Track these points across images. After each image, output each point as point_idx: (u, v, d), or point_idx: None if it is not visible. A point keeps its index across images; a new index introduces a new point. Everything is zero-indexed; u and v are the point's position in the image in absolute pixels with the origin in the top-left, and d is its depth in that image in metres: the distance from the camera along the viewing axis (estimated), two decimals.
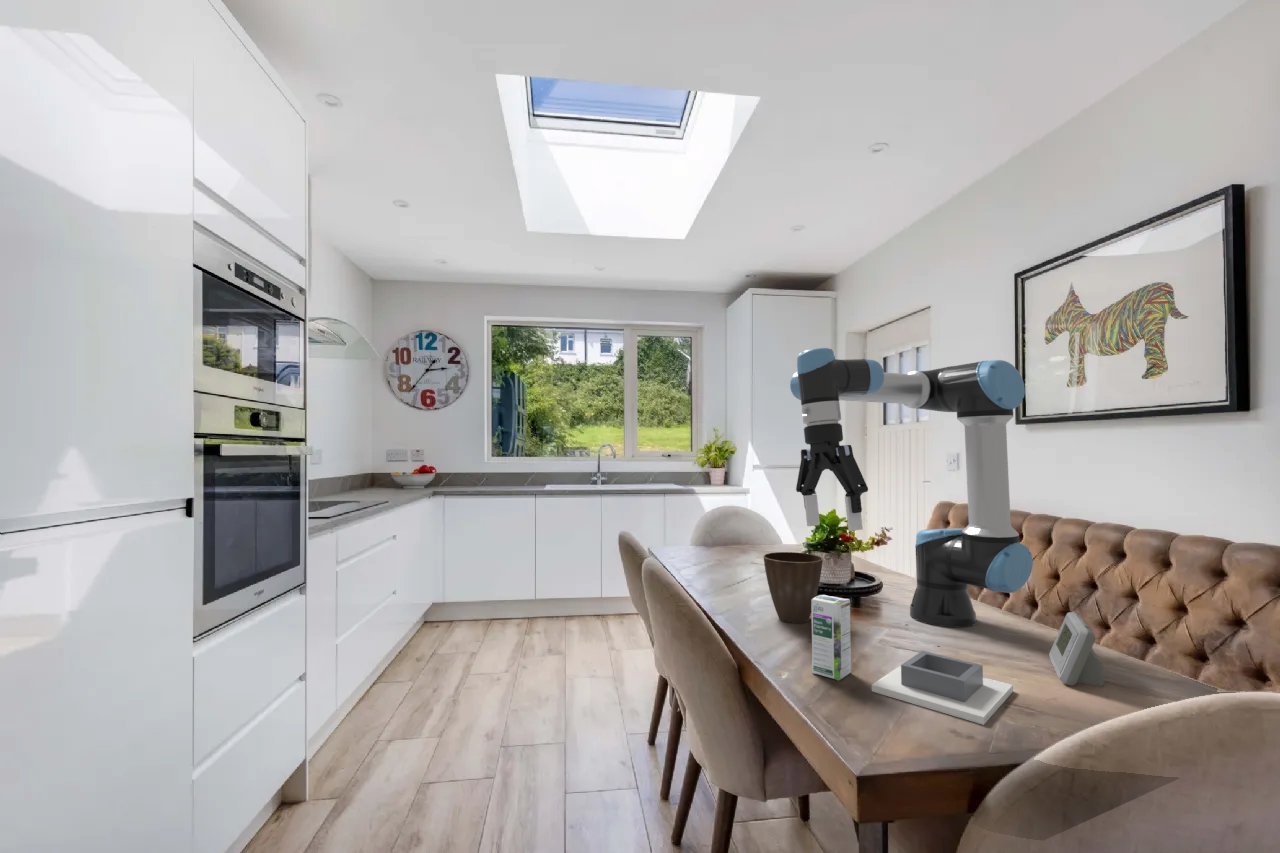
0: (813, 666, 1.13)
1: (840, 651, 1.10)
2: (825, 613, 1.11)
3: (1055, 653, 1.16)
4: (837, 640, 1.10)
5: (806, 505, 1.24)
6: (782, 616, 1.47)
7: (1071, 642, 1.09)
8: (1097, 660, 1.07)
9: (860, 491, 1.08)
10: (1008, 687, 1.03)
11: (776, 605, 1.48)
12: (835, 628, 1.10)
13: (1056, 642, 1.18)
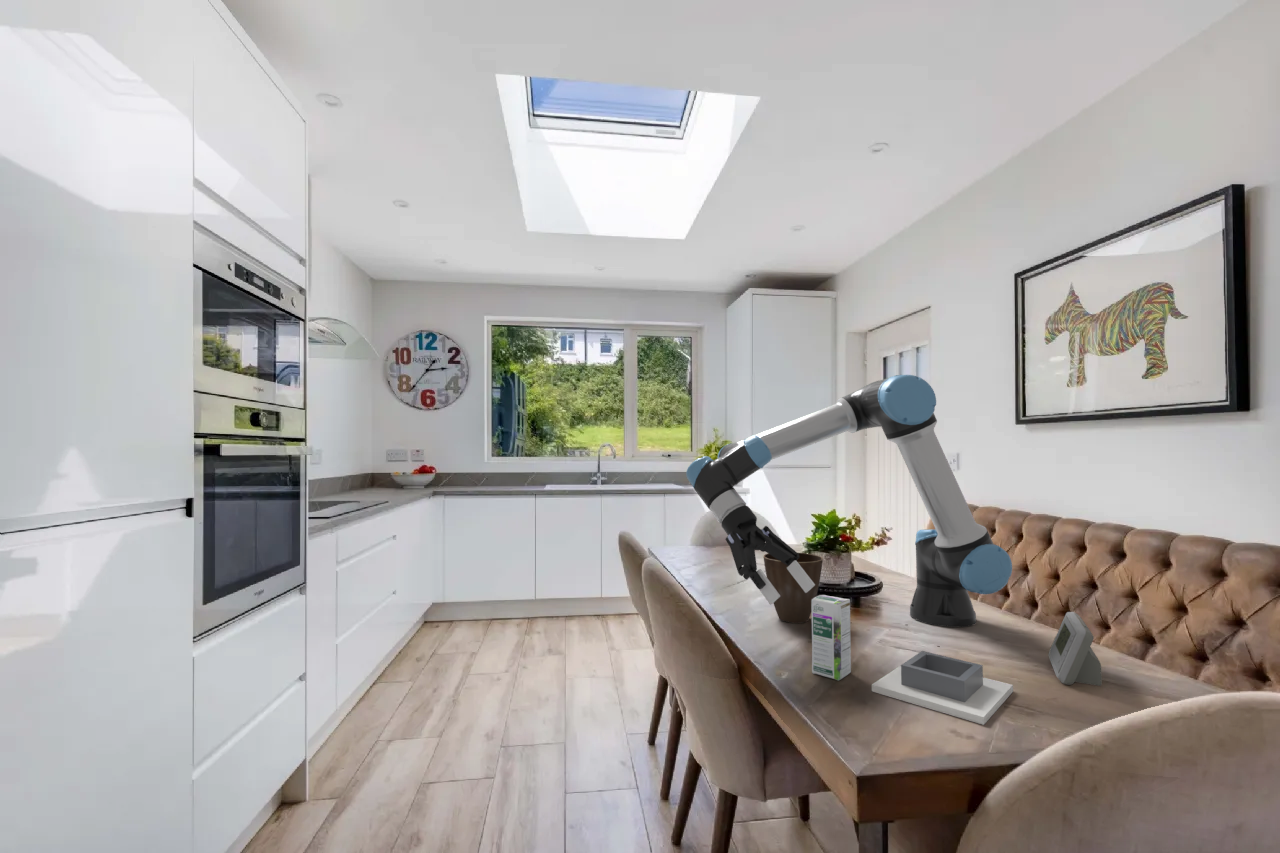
0: (813, 666, 1.13)
1: (840, 651, 1.10)
2: (825, 613, 1.11)
3: (1054, 653, 1.16)
4: (837, 640, 1.10)
5: None
6: (782, 616, 1.47)
7: (1069, 642, 1.09)
8: (1095, 660, 1.07)
9: (741, 573, 1.16)
10: (1008, 687, 1.03)
11: (776, 605, 1.48)
12: (835, 628, 1.10)
13: (1055, 642, 1.18)
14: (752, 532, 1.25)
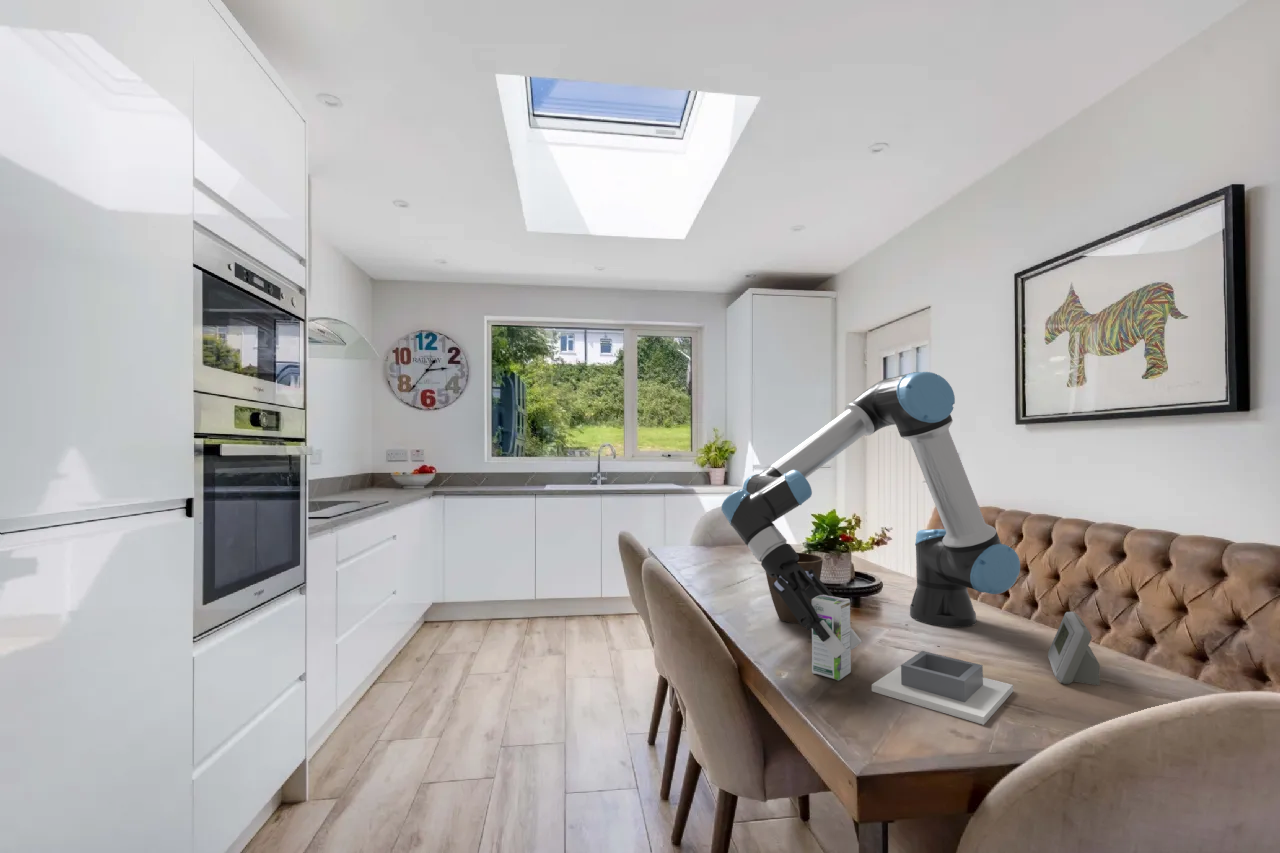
0: (813, 666, 1.13)
1: None
2: (825, 613, 1.11)
3: (1053, 652, 1.16)
4: None
5: None
6: (782, 616, 1.47)
7: (1067, 641, 1.09)
8: (1093, 659, 1.08)
9: (804, 624, 1.10)
10: (1008, 687, 1.03)
11: (776, 605, 1.48)
12: (834, 628, 1.10)
13: (1054, 641, 1.18)
14: (795, 573, 1.18)
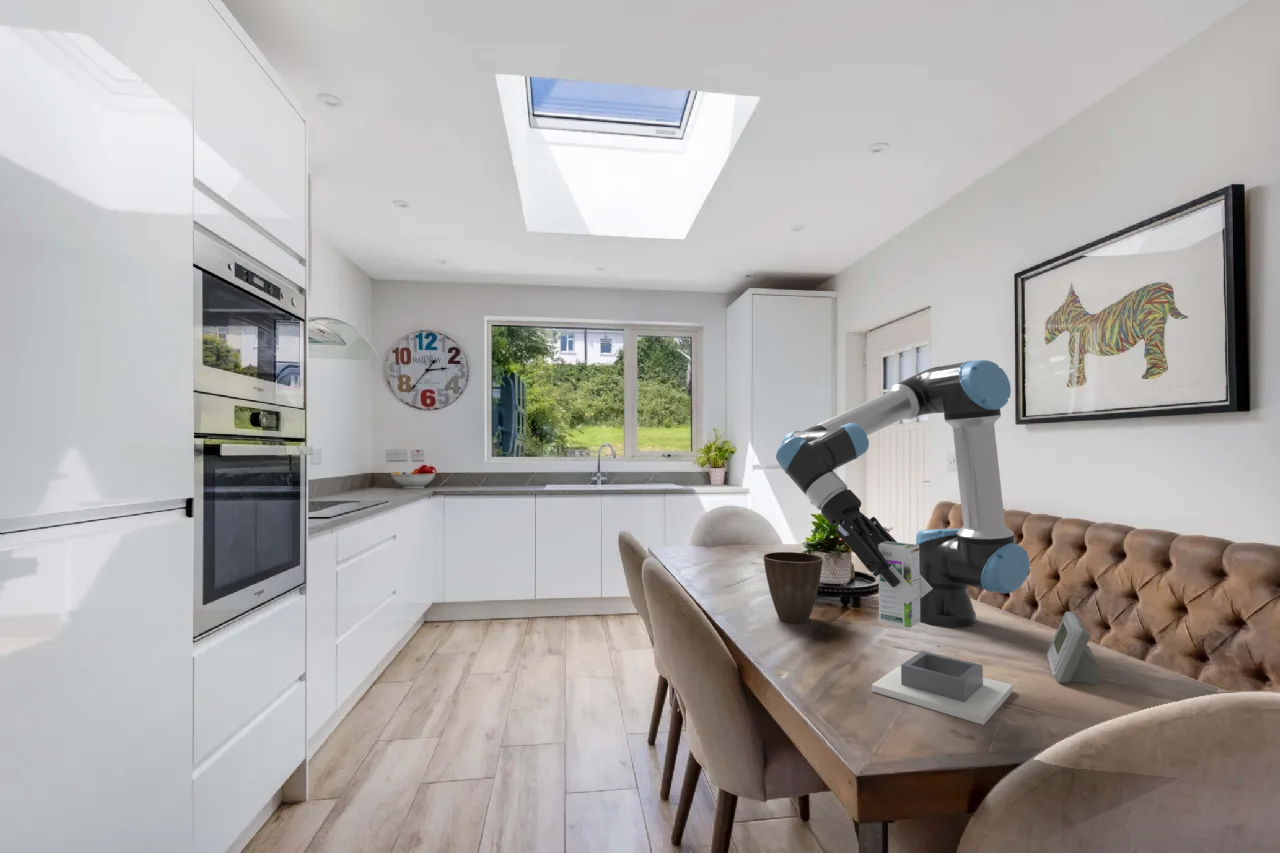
0: (880, 614, 1.07)
1: None
2: (894, 558, 1.05)
3: (1052, 652, 1.16)
4: None
5: None
6: (782, 616, 1.47)
7: (1066, 641, 1.09)
8: (1092, 659, 1.08)
9: (872, 569, 1.05)
10: (1008, 687, 1.03)
11: (776, 605, 1.48)
12: (905, 573, 1.04)
13: (1054, 641, 1.19)
14: (859, 518, 1.12)
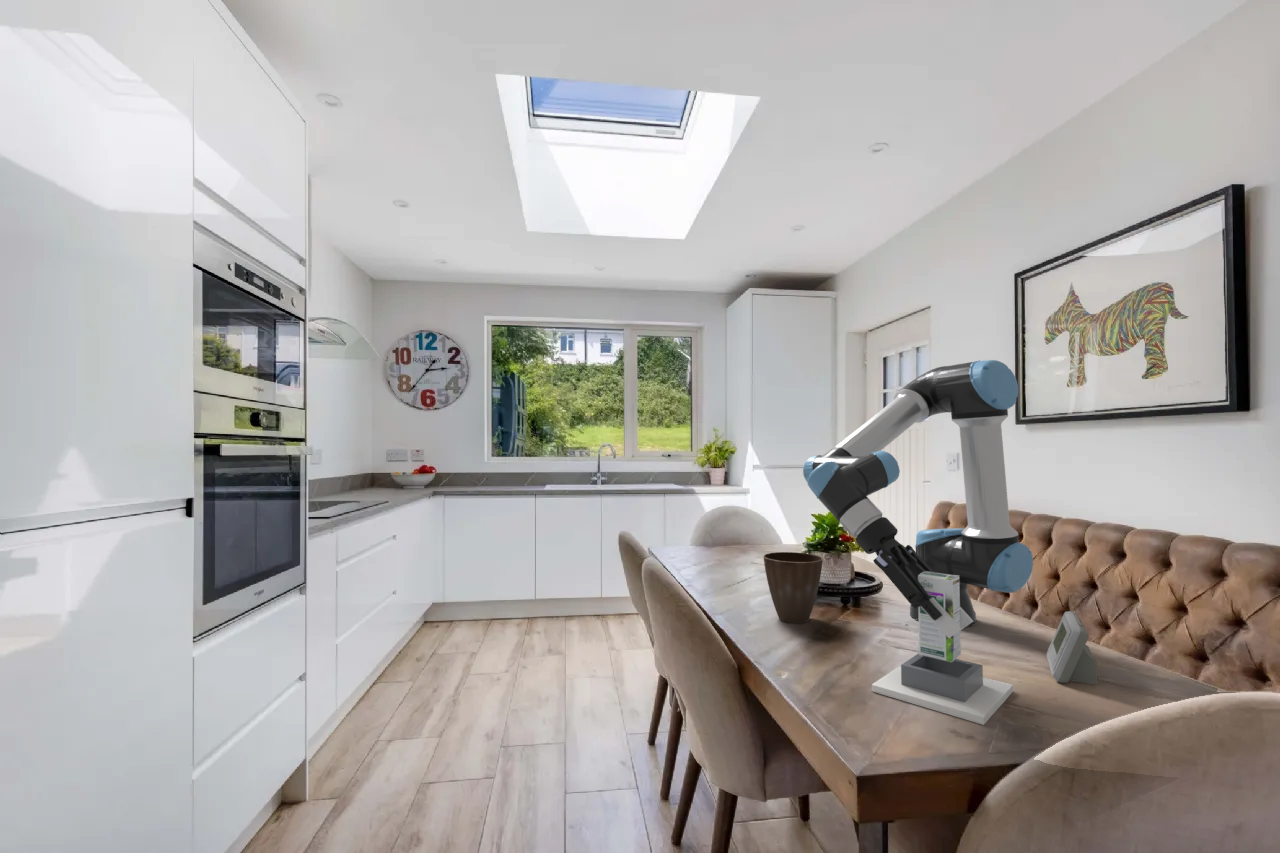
0: (920, 647, 1.04)
1: None
2: (935, 590, 1.03)
3: (1051, 651, 1.16)
4: None
5: None
6: (782, 616, 1.47)
7: (1065, 640, 1.10)
8: (1091, 658, 1.08)
9: (913, 602, 1.02)
10: (1008, 687, 1.03)
11: (776, 605, 1.48)
12: (947, 605, 1.01)
13: (1053, 641, 1.19)
14: (897, 548, 1.09)
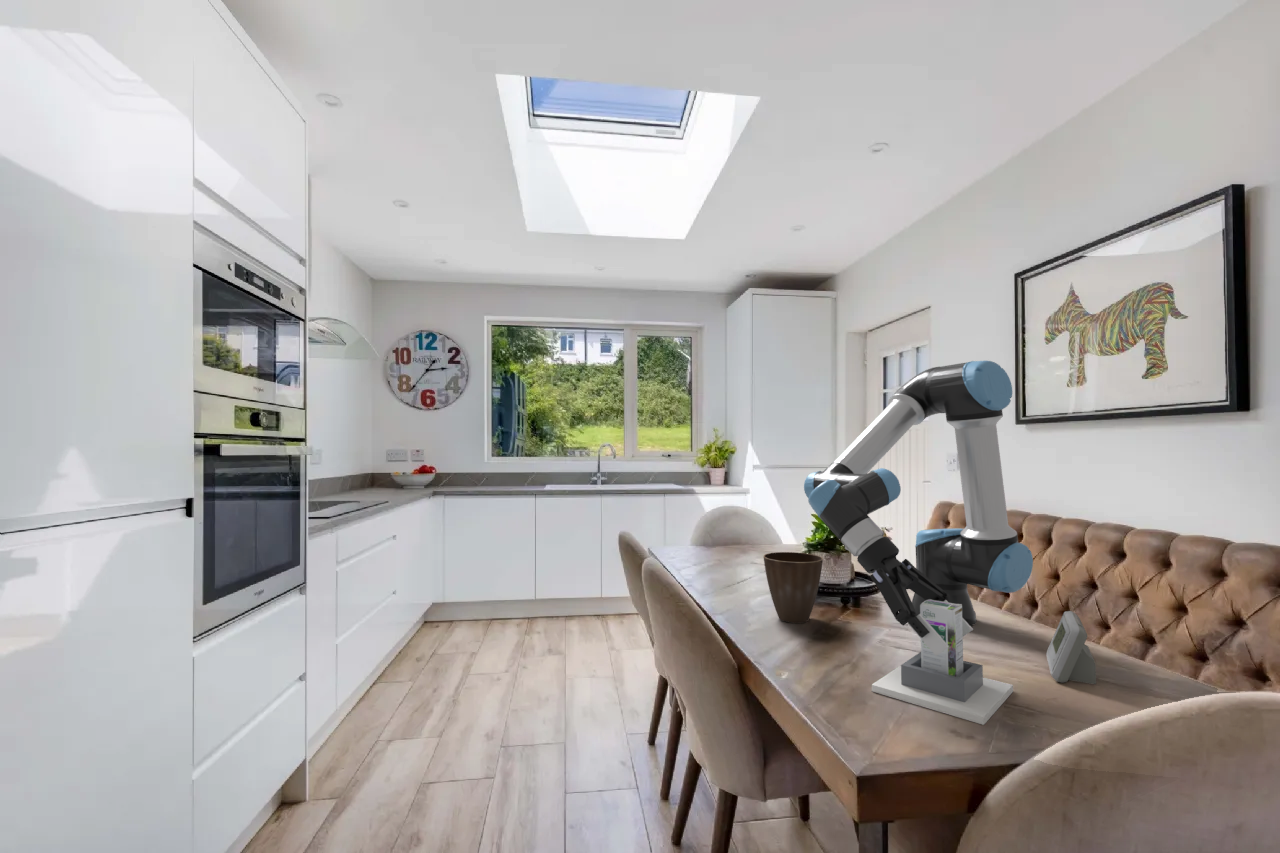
0: None
1: (955, 660, 1.01)
2: (937, 620, 1.03)
3: (1051, 651, 1.17)
4: (952, 649, 1.01)
5: None
6: (782, 616, 1.47)
7: (1064, 640, 1.10)
8: (1090, 658, 1.08)
9: (900, 619, 1.00)
10: (1008, 687, 1.03)
11: (776, 605, 1.48)
12: (949, 635, 1.02)
13: (1053, 640, 1.19)
14: (898, 568, 1.09)
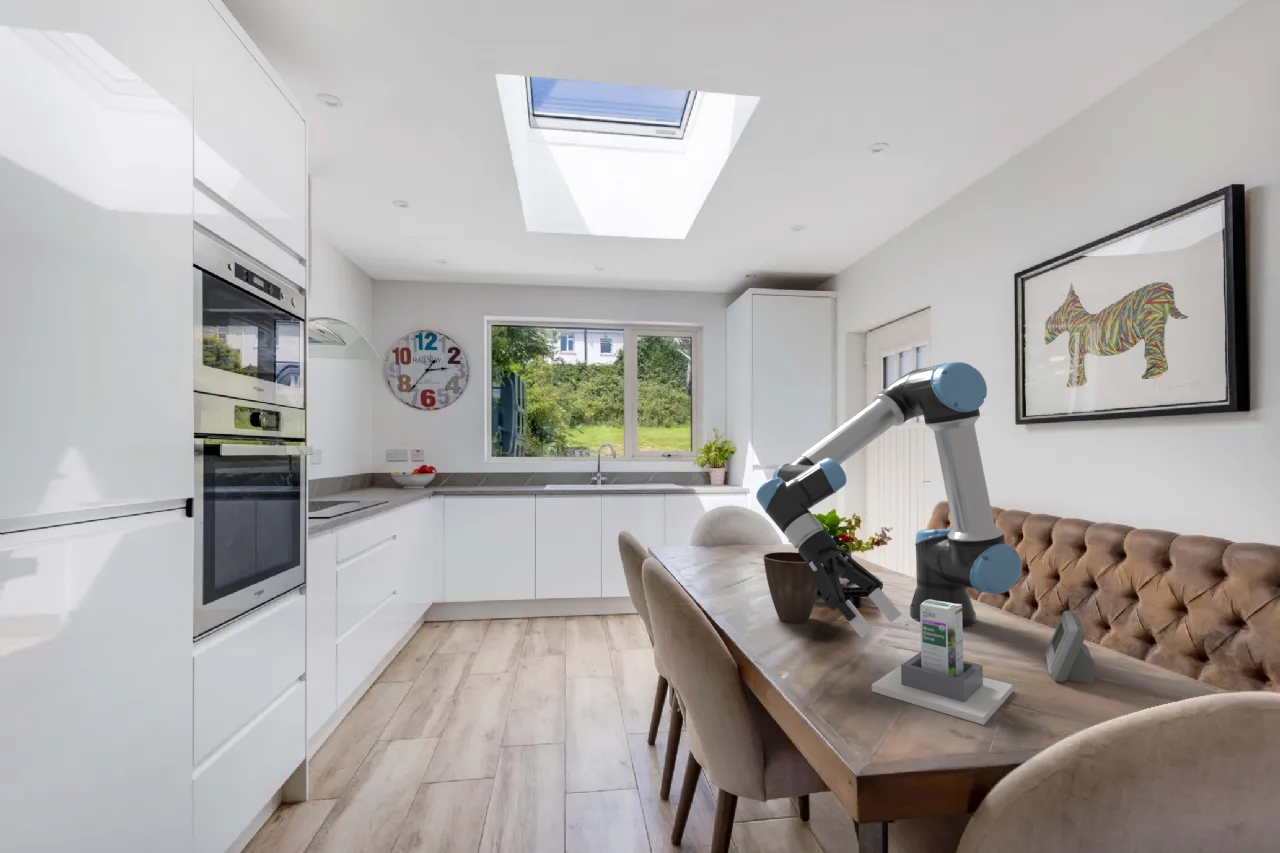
0: None
1: (955, 660, 1.01)
2: (937, 620, 1.03)
3: (1050, 651, 1.17)
4: (952, 649, 1.01)
5: None
6: (782, 616, 1.47)
7: (1062, 639, 1.10)
8: (1088, 658, 1.08)
9: (829, 604, 1.10)
10: (1008, 687, 1.03)
11: (776, 605, 1.48)
12: (949, 635, 1.02)
13: (1052, 640, 1.19)
14: (834, 559, 1.18)
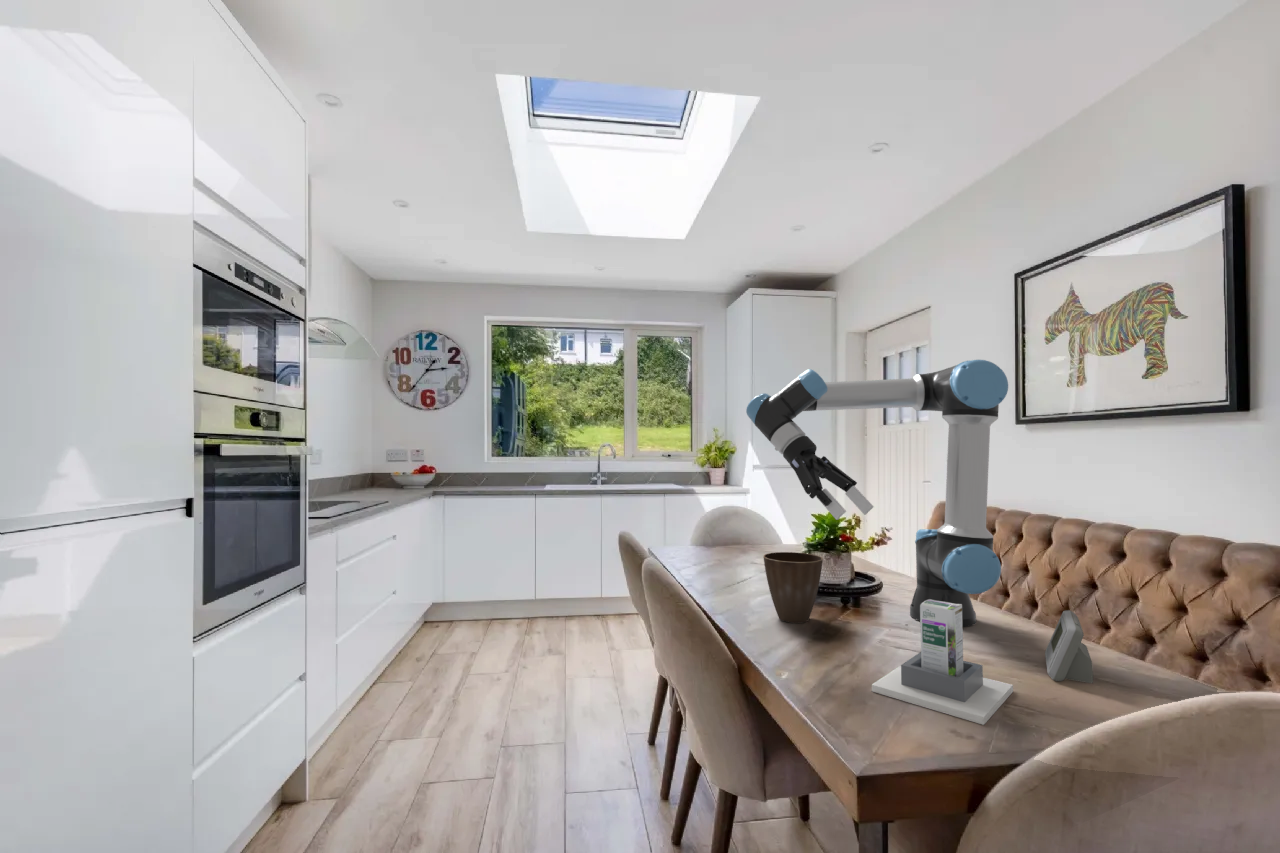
0: None
1: (955, 660, 1.01)
2: (937, 620, 1.03)
3: (1049, 650, 1.17)
4: (952, 649, 1.01)
5: None
6: (782, 616, 1.47)
7: (1061, 639, 1.10)
8: (1087, 657, 1.09)
9: (808, 491, 1.25)
10: (1008, 687, 1.03)
11: (776, 605, 1.48)
12: (949, 635, 1.02)
13: (1051, 640, 1.19)
14: (814, 458, 1.34)
